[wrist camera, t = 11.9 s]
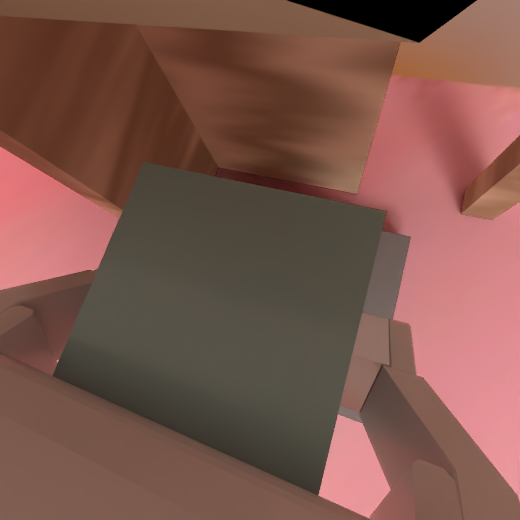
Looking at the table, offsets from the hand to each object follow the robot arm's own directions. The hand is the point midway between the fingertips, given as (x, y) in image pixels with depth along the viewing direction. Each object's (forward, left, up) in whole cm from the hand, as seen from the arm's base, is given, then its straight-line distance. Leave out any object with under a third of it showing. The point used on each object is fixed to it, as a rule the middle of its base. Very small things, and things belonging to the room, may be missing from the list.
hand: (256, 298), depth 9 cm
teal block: (0, +1, -5) cm, 5 cm away
